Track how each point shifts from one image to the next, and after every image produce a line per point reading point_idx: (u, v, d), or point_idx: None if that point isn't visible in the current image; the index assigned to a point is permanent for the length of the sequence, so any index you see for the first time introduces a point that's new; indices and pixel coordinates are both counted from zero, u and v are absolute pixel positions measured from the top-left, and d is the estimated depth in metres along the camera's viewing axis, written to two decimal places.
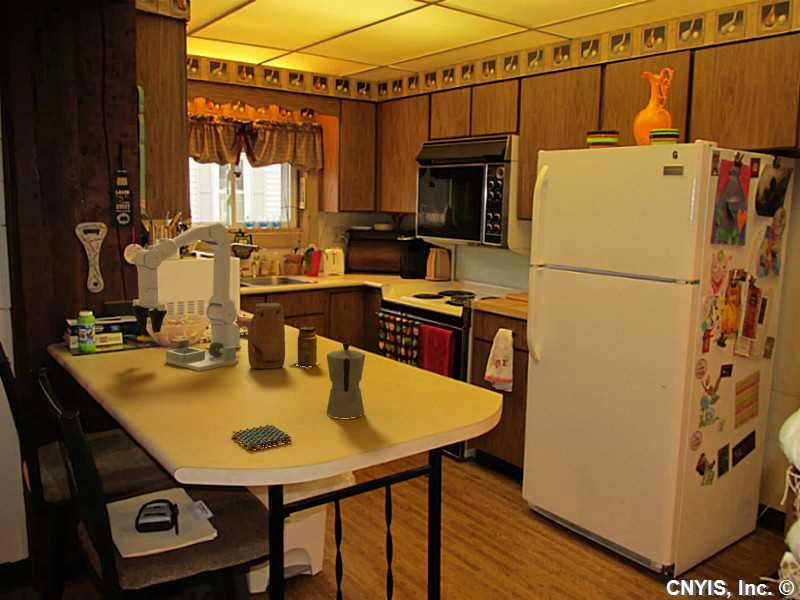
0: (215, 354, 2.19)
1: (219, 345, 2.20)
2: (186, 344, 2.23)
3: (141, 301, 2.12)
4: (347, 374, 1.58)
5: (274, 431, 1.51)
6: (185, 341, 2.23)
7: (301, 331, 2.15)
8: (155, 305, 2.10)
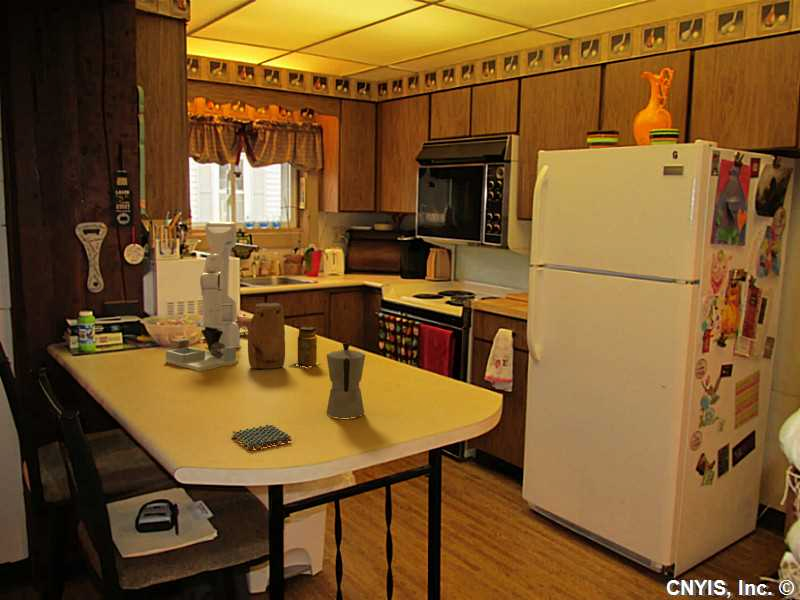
0: (217, 354, 2.18)
1: (221, 346, 2.19)
2: (186, 344, 2.23)
3: (206, 322, 2.17)
4: (347, 374, 1.58)
5: (274, 431, 1.51)
6: (185, 341, 2.23)
7: (301, 331, 2.15)
8: (220, 326, 2.16)
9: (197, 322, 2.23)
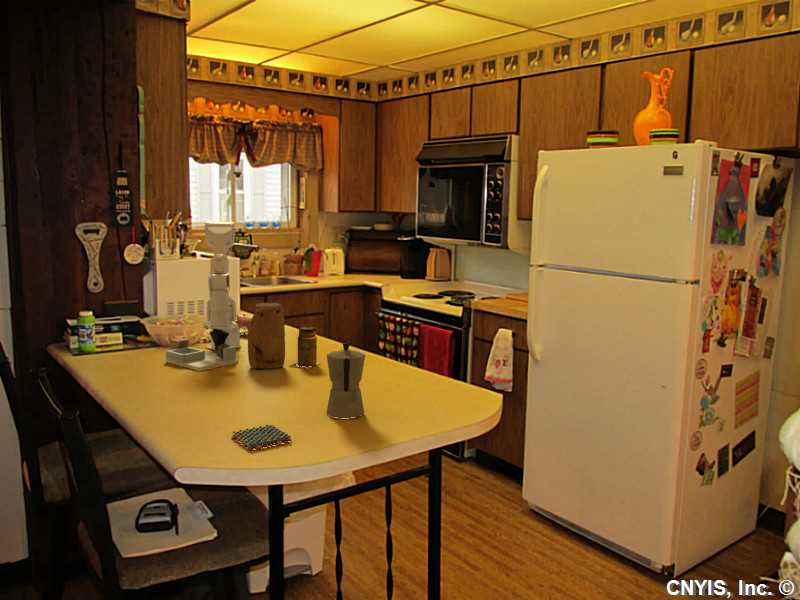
0: None
1: None
2: (186, 344, 2.23)
3: (213, 324, 2.15)
4: (347, 374, 1.58)
5: (274, 431, 1.51)
6: (185, 341, 2.23)
7: (301, 331, 2.15)
8: (227, 328, 2.13)
9: (204, 323, 2.21)
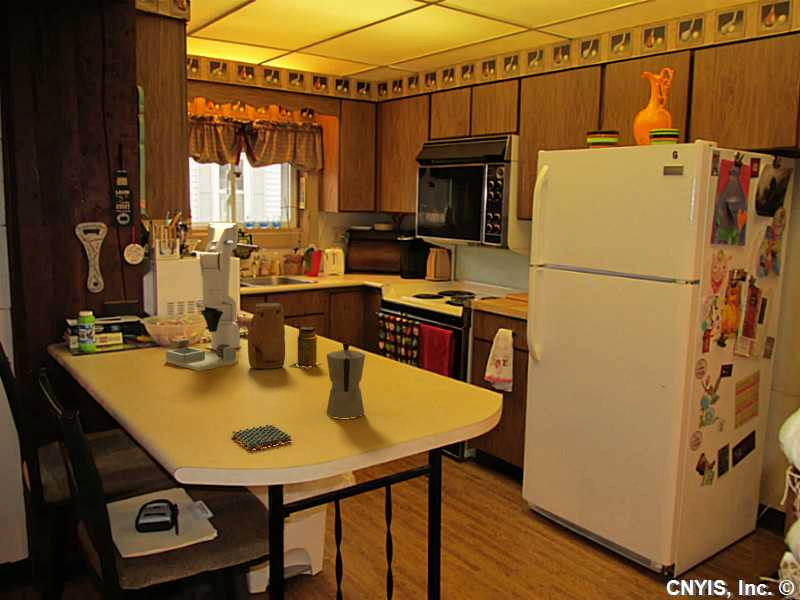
0: None
1: None
2: (186, 344, 2.23)
3: (205, 303, 2.17)
4: (347, 374, 1.58)
5: (274, 431, 1.51)
6: (185, 341, 2.23)
7: (301, 331, 2.15)
8: (219, 306, 2.15)
9: (197, 303, 2.22)
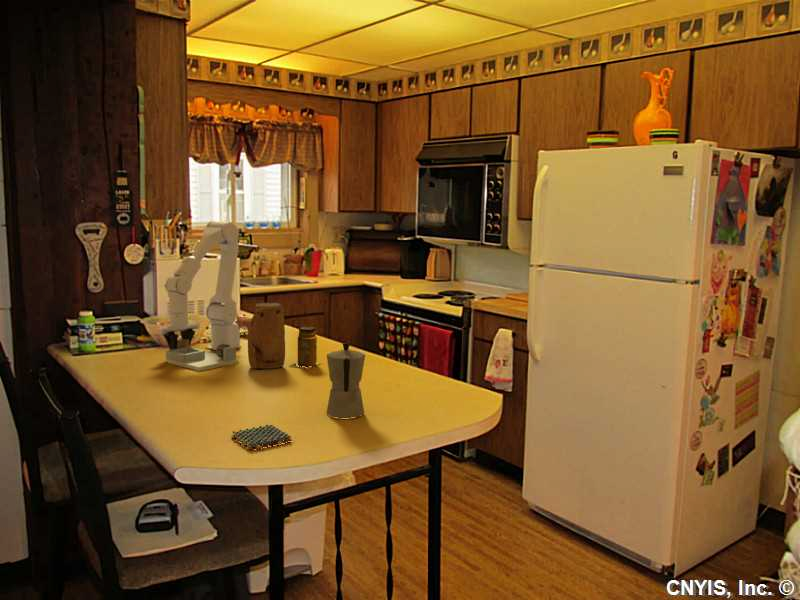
0: None
1: None
2: (186, 344, 2.23)
3: None
4: (347, 374, 1.58)
5: (274, 431, 1.51)
6: (185, 341, 2.23)
7: (301, 331, 2.15)
8: None
9: None
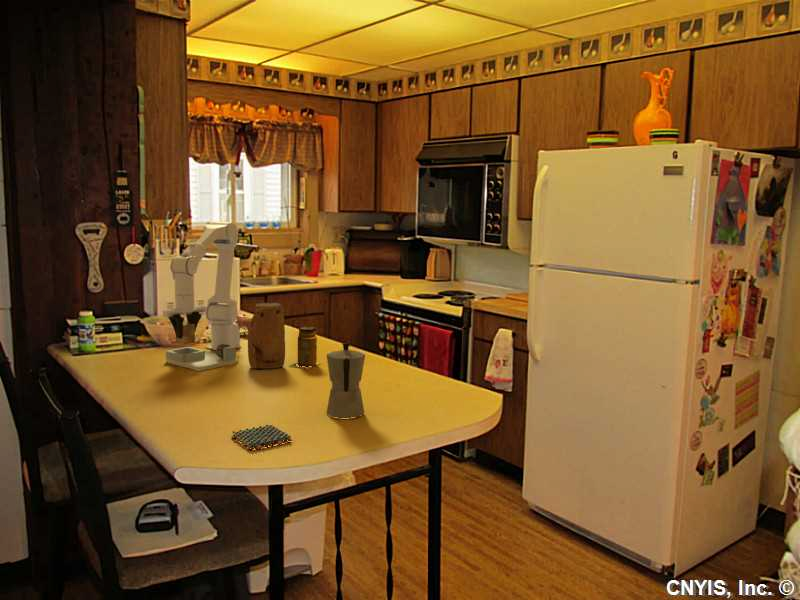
0: None
1: None
2: (192, 329, 2.16)
3: None
4: (347, 374, 1.58)
5: (274, 431, 1.51)
6: (191, 325, 2.15)
7: (301, 331, 2.15)
8: None
9: None
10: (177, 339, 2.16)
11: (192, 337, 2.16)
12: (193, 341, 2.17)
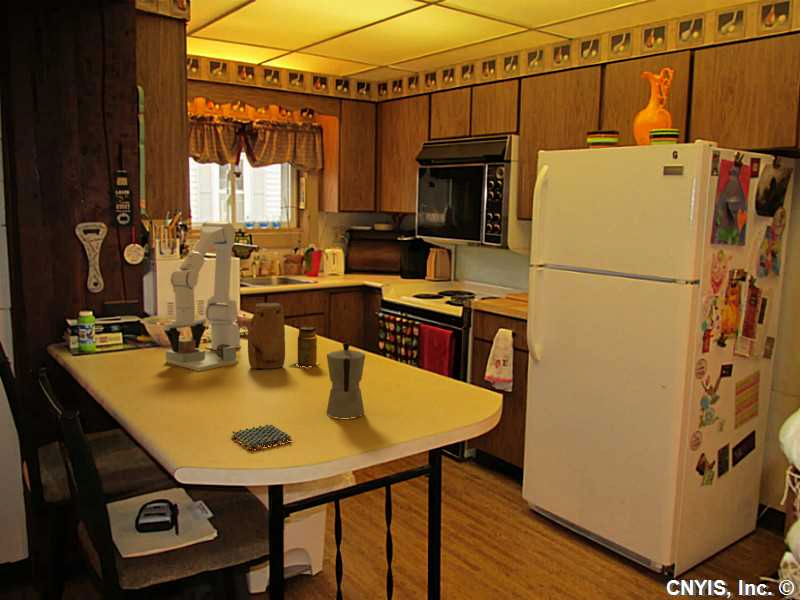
0: None
1: None
2: (192, 345, 2.16)
3: None
4: (347, 374, 1.58)
5: (274, 431, 1.51)
6: (191, 342, 2.16)
7: (301, 331, 2.15)
8: None
9: None
10: None
11: None
12: None
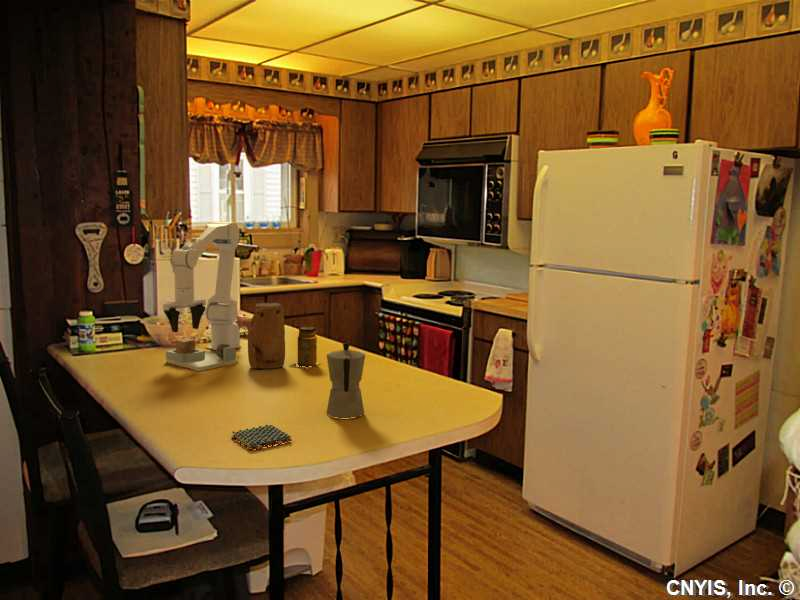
0: None
1: None
2: (192, 345, 2.16)
3: None
4: (347, 374, 1.58)
5: (274, 431, 1.51)
6: (191, 342, 2.16)
7: (301, 331, 2.15)
8: None
9: None
10: None
11: None
12: None
